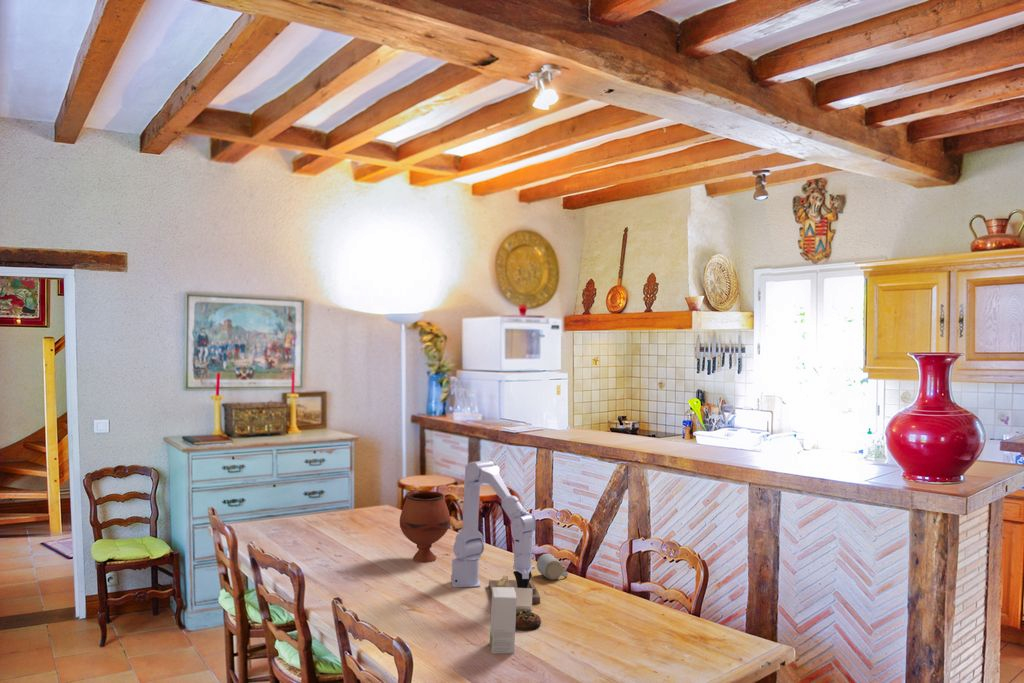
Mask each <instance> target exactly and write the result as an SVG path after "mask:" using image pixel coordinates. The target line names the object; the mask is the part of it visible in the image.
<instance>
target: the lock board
mask: <svg viewBox="0 0 1024 683" xmlns="http://www.w3.org/2000/svg"><path fill="white" fill-rule="evenodd" d="M500 580H501V579H500ZM500 580H499V579H498V580H497V579H496V580H495V579H493V580H492V579H491V580H488V589H489V592H490V596H491V597H492V587H498V583H499V582H500ZM506 587H514V588H517V582H516V579H508V583H507V585H506ZM527 588H532V604H541V596H540V593H539V591H538V589H537V587H536V585H535V583H534V581H533V579H532V578H531V579H530V581H529V583H528V587H527Z"/></svg>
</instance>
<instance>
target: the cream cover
mask: <svg viewBox="0 0 1024 683" xmlns="http://www.w3.org/2000/svg"><path fill="white" fill-rule="evenodd" d="M514 590H515V592H516V598H517V604H516V610H519V611H520V610H527V611H532V609H533V603H532V588H514Z"/></svg>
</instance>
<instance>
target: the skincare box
mask: <svg viewBox="0 0 1024 683" xmlns="http://www.w3.org/2000/svg"><path fill="white" fill-rule="evenodd" d="M516 604H517V598H516V592H515V590H514V587H492V596H491V610H490V628H489V630H490V631H489V632H490V633H489V634H490V635H489V646H490V649H491V650H490V651H491V652H490V653H491V654H494V655H495V654H496V655H497V654H498V655H501V654H515V645H516V644H515V642H516V629H515V624H516V612H517V609H516Z"/></svg>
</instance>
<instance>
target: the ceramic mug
mask: <svg viewBox="0 0 1024 683" xmlns="http://www.w3.org/2000/svg"><path fill="white" fill-rule="evenodd" d="M536 569H537V571H538V572H539V574H541V575H543V576H544V577H545V578H547V579H548V580H551V581H552V580H553V581H554V580H557V579H559V578H560V577H561V576H562V577H565V578H567V577H568V575H569V572H568V571H567V570H565V569H564V568H563V564H562V563H561V561H560V560H559V559H557V558H556V556H554V555H553V554H552V553H548V552H547V553H542V555H540V556H539V557H538V558H537V560H536Z"/></svg>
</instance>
